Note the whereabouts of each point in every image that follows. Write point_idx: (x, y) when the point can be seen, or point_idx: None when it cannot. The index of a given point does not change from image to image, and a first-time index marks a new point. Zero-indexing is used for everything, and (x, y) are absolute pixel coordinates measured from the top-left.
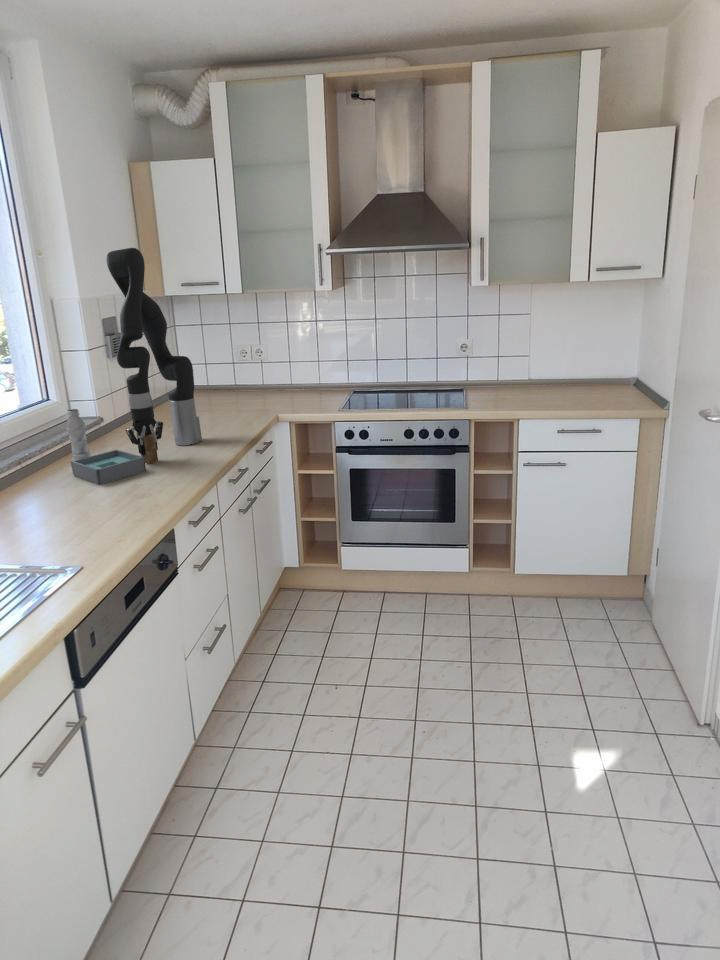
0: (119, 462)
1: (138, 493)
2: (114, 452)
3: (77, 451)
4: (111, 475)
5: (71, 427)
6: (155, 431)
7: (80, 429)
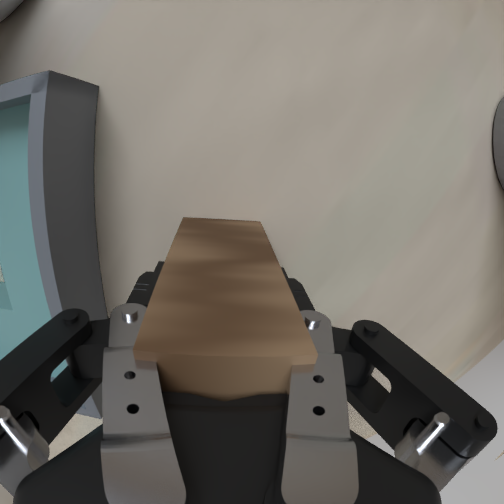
0: (11, 276)
1: (53, 447)
2: (26, 97)
3: None
4: None
5: None
6: (393, 368)
7: None
